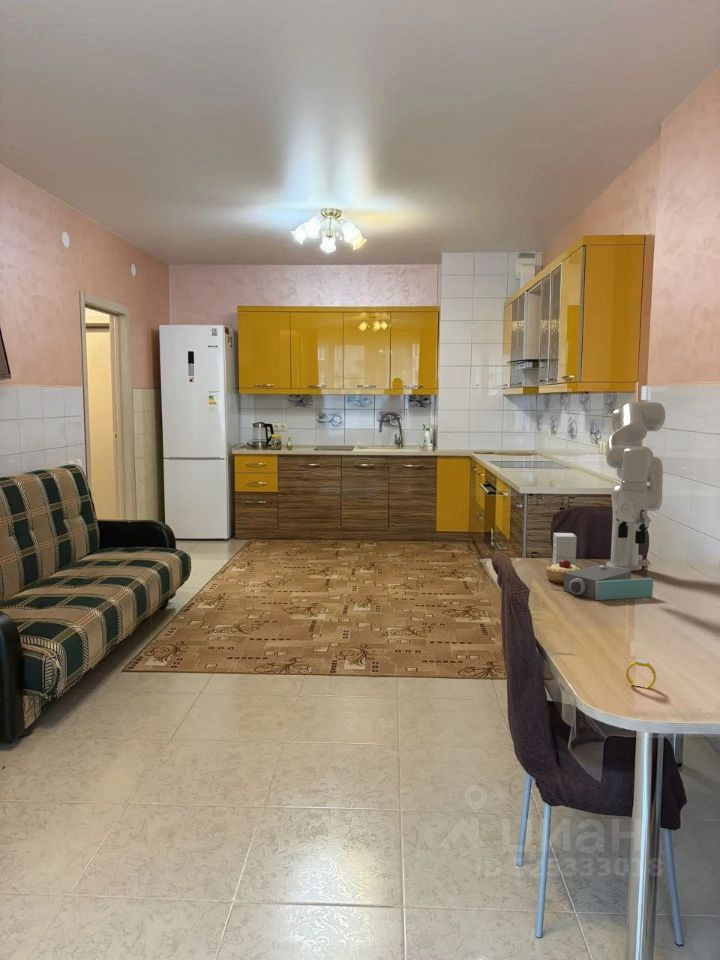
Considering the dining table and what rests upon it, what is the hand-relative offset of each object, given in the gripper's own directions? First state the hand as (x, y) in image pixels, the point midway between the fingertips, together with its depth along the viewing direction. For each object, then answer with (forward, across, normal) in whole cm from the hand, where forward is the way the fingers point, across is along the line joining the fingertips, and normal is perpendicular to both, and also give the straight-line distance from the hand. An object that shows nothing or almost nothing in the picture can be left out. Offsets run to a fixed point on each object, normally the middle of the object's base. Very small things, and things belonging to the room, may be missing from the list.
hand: (631, 540), depth 221 cm
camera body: (+18, -8, -7) cm, 21 cm away
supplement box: (+18, -40, -1) cm, 44 cm away
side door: (+18, +3, -3) cm, 18 cm away
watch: (+19, +64, -40) cm, 78 cm away
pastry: (+19, -21, -11) cm, 30 cm away
